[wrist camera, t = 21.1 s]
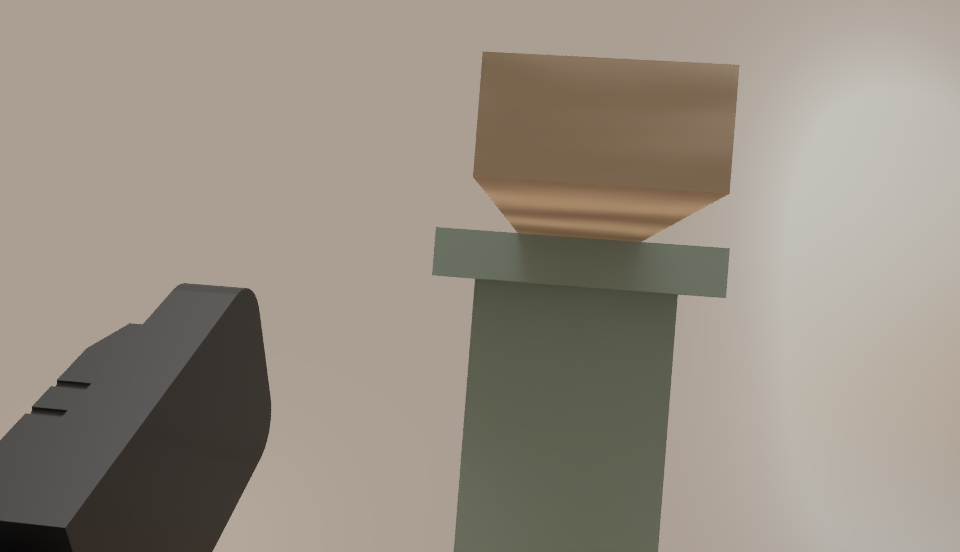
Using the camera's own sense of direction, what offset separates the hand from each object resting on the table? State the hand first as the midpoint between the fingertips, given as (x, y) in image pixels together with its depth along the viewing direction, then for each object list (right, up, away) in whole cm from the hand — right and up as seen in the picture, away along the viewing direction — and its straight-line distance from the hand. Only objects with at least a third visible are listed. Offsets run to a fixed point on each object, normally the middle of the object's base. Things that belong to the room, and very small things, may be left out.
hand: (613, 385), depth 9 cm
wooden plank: (+2, +3, +21) cm, 22 cm away
